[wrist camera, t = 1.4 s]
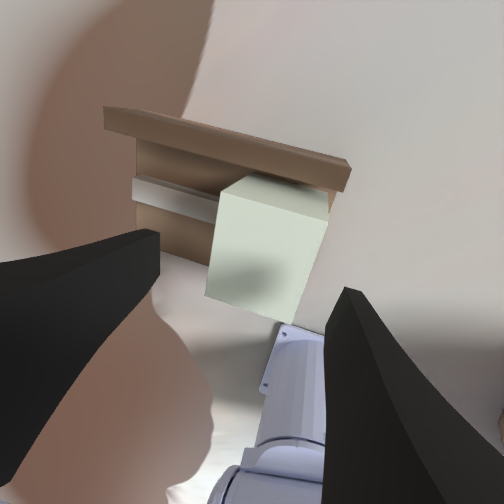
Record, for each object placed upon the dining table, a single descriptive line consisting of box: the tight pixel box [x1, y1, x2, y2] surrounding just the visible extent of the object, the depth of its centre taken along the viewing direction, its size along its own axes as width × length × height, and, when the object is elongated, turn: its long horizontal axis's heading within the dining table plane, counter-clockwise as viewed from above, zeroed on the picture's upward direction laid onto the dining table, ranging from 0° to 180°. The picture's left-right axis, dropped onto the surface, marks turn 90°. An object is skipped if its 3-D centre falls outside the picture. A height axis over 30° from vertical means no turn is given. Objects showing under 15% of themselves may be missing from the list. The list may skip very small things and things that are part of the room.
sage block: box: [205, 172, 329, 325], centre depth 16 cm, size 6×5×6 cm
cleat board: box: [103, 106, 352, 266], centre depth 18 cm, size 10×14×4 cm
